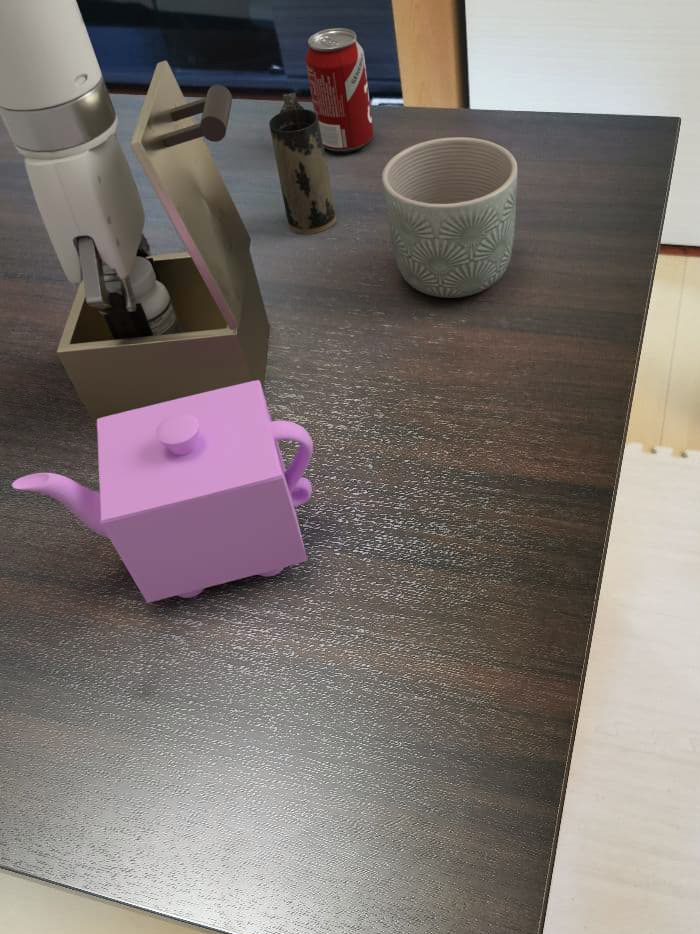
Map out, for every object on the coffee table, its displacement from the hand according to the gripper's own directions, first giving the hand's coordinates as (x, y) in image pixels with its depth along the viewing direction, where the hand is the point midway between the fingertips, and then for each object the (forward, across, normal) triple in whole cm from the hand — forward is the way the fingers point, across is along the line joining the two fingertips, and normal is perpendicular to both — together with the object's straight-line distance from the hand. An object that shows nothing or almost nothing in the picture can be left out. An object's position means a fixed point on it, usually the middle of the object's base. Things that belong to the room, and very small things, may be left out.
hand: (142, 320), depth 74 cm
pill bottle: (+5, 0, 0) cm, 5 cm away
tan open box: (+7, 0, +2) cm, 7 cm away
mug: (+7, -26, +13) cm, 30 cm away
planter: (+7, -12, +28) cm, 31 cm away
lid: (-10, 0, +8) cm, 13 cm away
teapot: (+7, +21, +6) cm, 23 cm away
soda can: (+7, -42, +17) cm, 46 cm away
